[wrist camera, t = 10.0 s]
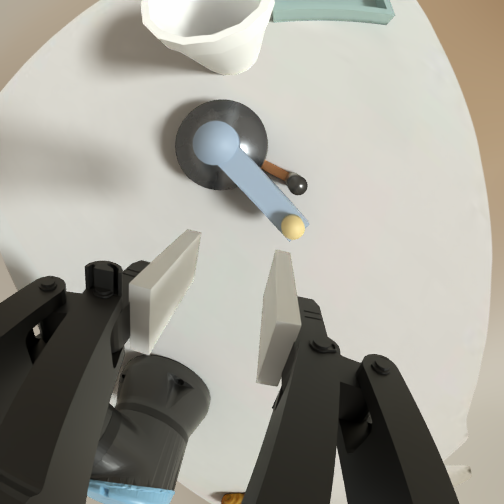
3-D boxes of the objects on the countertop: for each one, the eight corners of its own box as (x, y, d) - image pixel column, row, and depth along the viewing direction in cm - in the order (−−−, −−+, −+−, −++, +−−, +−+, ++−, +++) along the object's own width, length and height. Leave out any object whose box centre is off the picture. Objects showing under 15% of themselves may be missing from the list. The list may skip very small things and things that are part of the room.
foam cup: (183, 30, 24) (138, -25, 11) (263, 11, 22) (256, -57, 10) (197, 97, 27) (147, 63, 14) (281, 79, 25) (287, 28, 13)
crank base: (192, 200, 30) (172, 211, 24) (179, 114, 27) (156, 104, 21) (300, 186, 29) (308, 194, 23) (288, 96, 26) (292, 80, 20)
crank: (190, 144, 25) (179, 143, 22) (220, 115, 24) (213, 109, 21) (282, 240, 28) (283, 251, 25) (313, 214, 27) (318, 221, 24)
